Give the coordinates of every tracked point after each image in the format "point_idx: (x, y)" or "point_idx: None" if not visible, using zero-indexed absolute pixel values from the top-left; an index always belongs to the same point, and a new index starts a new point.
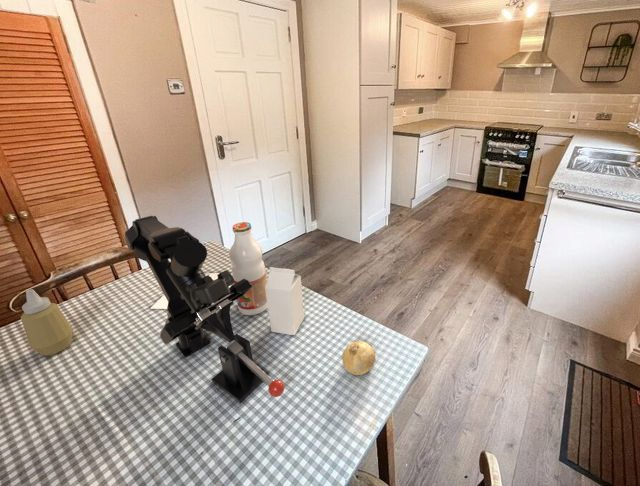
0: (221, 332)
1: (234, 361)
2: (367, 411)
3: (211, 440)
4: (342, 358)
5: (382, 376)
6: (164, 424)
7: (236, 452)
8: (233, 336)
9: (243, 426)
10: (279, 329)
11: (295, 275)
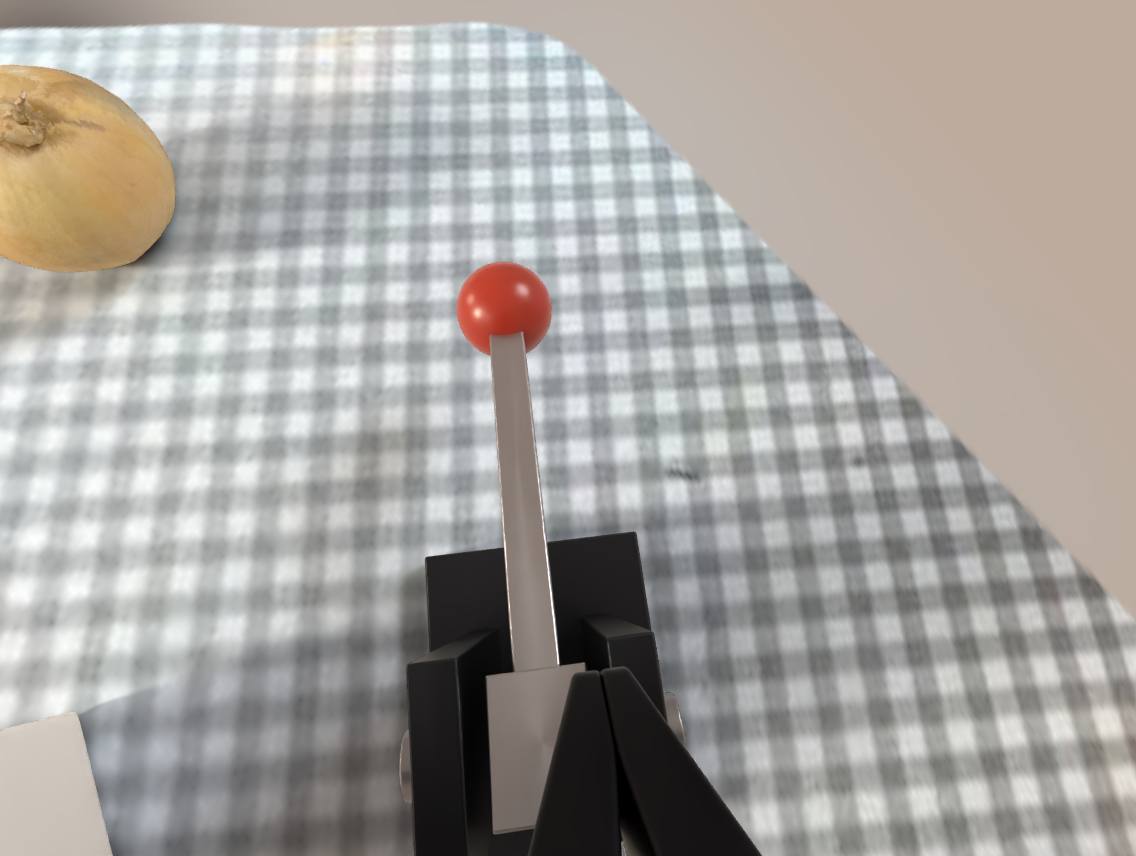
0: (758, 852)
1: (611, 627)
2: (305, 76)
3: (809, 479)
4: (111, 227)
5: None
6: (960, 762)
7: (753, 350)
8: (578, 701)
9: (679, 421)
10: (78, 852)
11: None
